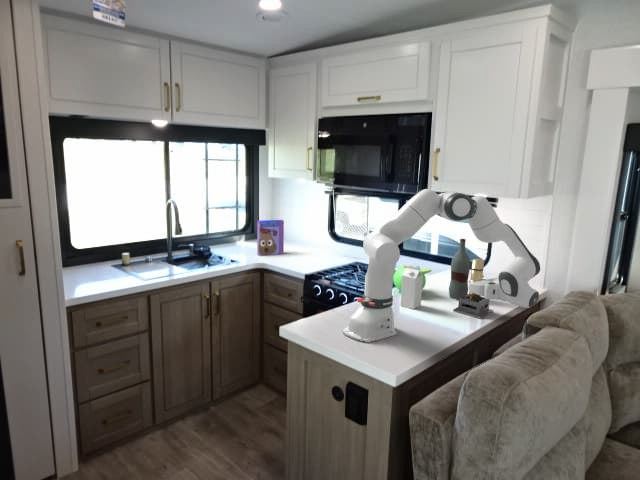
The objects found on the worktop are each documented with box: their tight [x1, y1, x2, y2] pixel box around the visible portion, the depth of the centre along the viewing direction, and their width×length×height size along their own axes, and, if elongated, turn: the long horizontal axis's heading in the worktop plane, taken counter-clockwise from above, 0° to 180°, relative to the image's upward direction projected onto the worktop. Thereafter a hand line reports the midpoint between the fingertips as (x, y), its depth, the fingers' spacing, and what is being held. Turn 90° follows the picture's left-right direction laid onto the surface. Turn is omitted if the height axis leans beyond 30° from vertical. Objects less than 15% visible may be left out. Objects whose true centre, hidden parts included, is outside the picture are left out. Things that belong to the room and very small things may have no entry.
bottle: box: [448, 238, 471, 301], centre depth 219 cm, size 9×9×30 cm
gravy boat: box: [393, 264, 433, 292], centre depth 227 cm, size 18×17×15 cm
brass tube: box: [468, 258, 485, 309], centre depth 199 cm, size 5×5×22 cm
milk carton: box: [399, 265, 423, 310], centre depth 206 cm, size 7×7×19 cm
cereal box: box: [256, 219, 285, 257], centre depth 303 cm, size 17×5×24 cm, turn 113°
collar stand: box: [453, 293, 494, 320], centre depth 201 cm, size 13×13×6 cm
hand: (474, 280), depth 200 cm, fingers closed on brass tube, 5 cm apart
